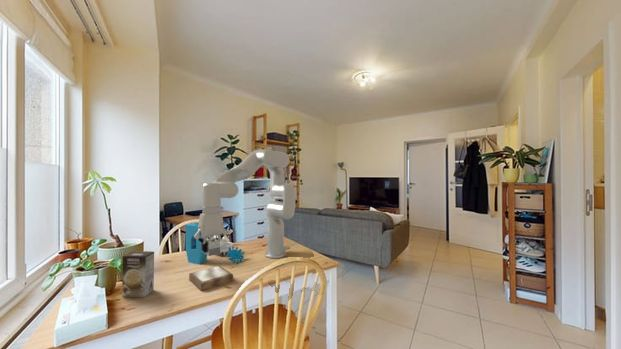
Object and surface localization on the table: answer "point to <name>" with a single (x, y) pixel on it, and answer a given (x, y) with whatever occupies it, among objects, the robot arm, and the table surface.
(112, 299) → the table surface
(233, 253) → the gear
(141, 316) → the table surface
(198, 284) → the stand
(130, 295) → the coffee box
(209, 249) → the block
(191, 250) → the block
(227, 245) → the mechanical part
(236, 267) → the table surface
